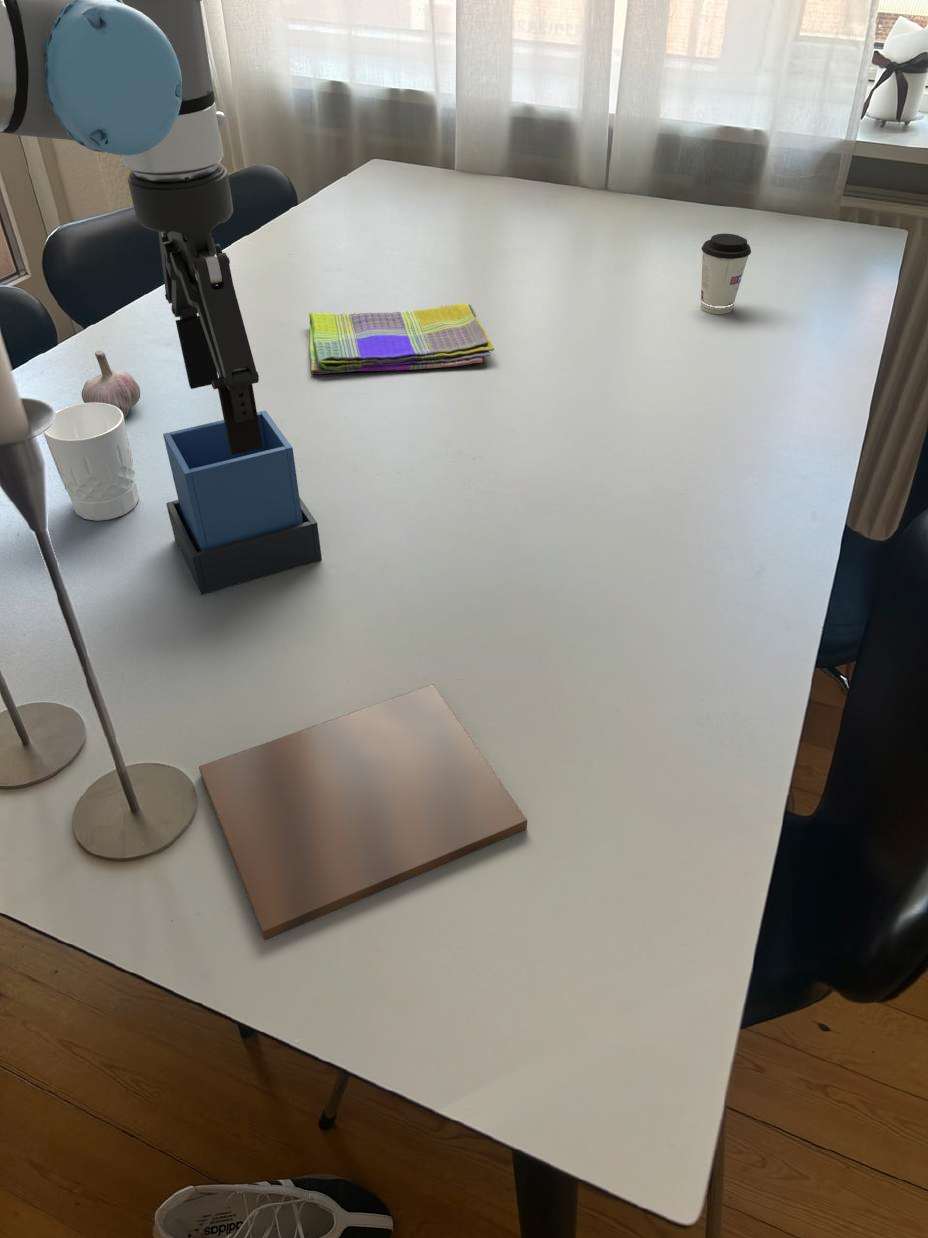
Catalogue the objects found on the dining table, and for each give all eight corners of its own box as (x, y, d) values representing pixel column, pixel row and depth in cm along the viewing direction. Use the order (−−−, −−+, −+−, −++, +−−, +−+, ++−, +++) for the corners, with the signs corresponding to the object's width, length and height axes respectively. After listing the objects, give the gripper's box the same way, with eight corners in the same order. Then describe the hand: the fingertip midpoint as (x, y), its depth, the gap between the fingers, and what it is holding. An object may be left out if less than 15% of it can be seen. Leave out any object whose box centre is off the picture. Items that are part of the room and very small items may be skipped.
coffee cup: (685, 311, 142) (696, 242, 135) (701, 295, 147) (711, 227, 140) (732, 320, 139) (745, 250, 133) (746, 303, 144) (759, 235, 138)
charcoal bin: (201, 595, 92) (192, 557, 89) (174, 539, 99) (165, 502, 96) (322, 560, 96) (317, 522, 93) (288, 509, 103) (283, 472, 100)
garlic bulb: (127, 427, 116) (111, 366, 111) (72, 422, 118) (53, 360, 112) (155, 398, 122) (141, 338, 117) (102, 393, 123) (85, 333, 118)
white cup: (157, 488, 106) (137, 406, 100) (122, 529, 100) (98, 444, 94) (92, 480, 107) (68, 398, 101) (54, 519, 102) (25, 435, 95)
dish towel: (309, 324, 139) (307, 305, 137) (476, 314, 142) (476, 295, 140) (311, 379, 126) (309, 359, 124) (495, 367, 128) (495, 347, 127)
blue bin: (208, 581, 93) (184, 473, 85) (187, 538, 98) (162, 433, 90) (307, 553, 96) (292, 447, 88) (281, 512, 101) (265, 409, 94)
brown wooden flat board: (264, 940, 64) (262, 932, 63) (200, 774, 75) (198, 766, 74) (527, 829, 71) (527, 820, 70) (433, 692, 82) (433, 683, 81)
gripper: (274, 205, 67) (310, 469, 80) (183, 123, 84) (225, 353, 97) (166, 222, 64) (222, 492, 78) (95, 134, 81) (151, 368, 95)
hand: (224, 415), depth 88 cm, fingers open, 13 cm apart
